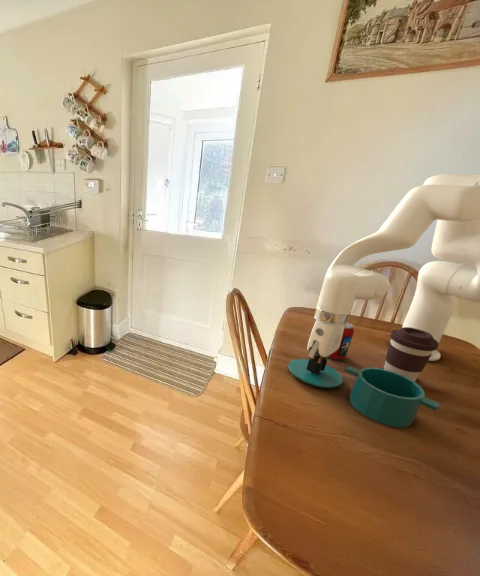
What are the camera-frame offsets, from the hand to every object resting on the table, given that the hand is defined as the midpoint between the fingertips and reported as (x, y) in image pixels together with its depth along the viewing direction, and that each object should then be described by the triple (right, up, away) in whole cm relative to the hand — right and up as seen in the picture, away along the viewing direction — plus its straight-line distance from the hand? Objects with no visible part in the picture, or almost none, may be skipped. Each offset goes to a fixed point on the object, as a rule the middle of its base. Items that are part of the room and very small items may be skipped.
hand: (315, 369), depth 94 cm
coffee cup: (+26, -2, +1) cm, 26 cm away
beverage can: (+14, +2, +12) cm, 18 cm away
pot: (+9, -7, -12) cm, 16 cm away
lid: (0, -1, 0) cm, 1 cm away
